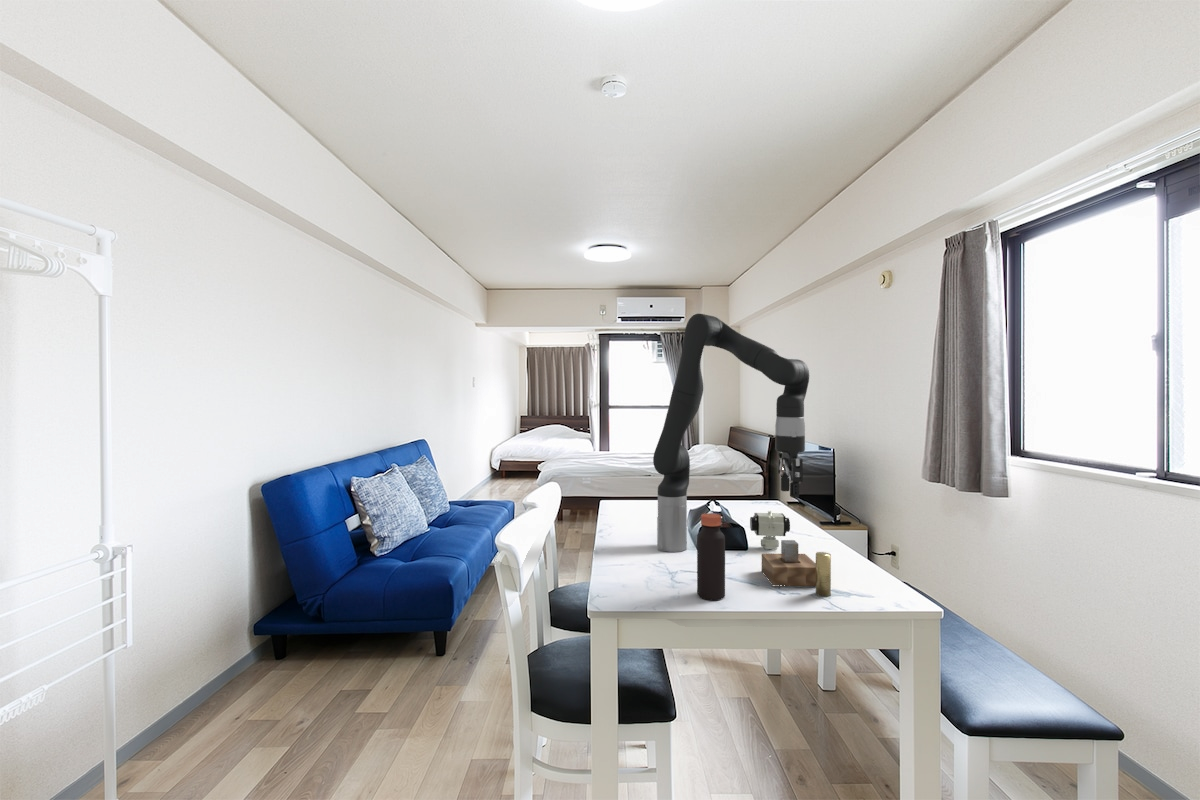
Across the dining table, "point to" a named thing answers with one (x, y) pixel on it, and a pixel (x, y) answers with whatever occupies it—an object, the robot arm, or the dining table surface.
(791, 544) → the square bit
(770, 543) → the pneumatic valve
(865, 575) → the dining table surface
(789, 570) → the socket block
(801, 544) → the dining table surface
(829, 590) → the cylinder
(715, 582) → the bottle
